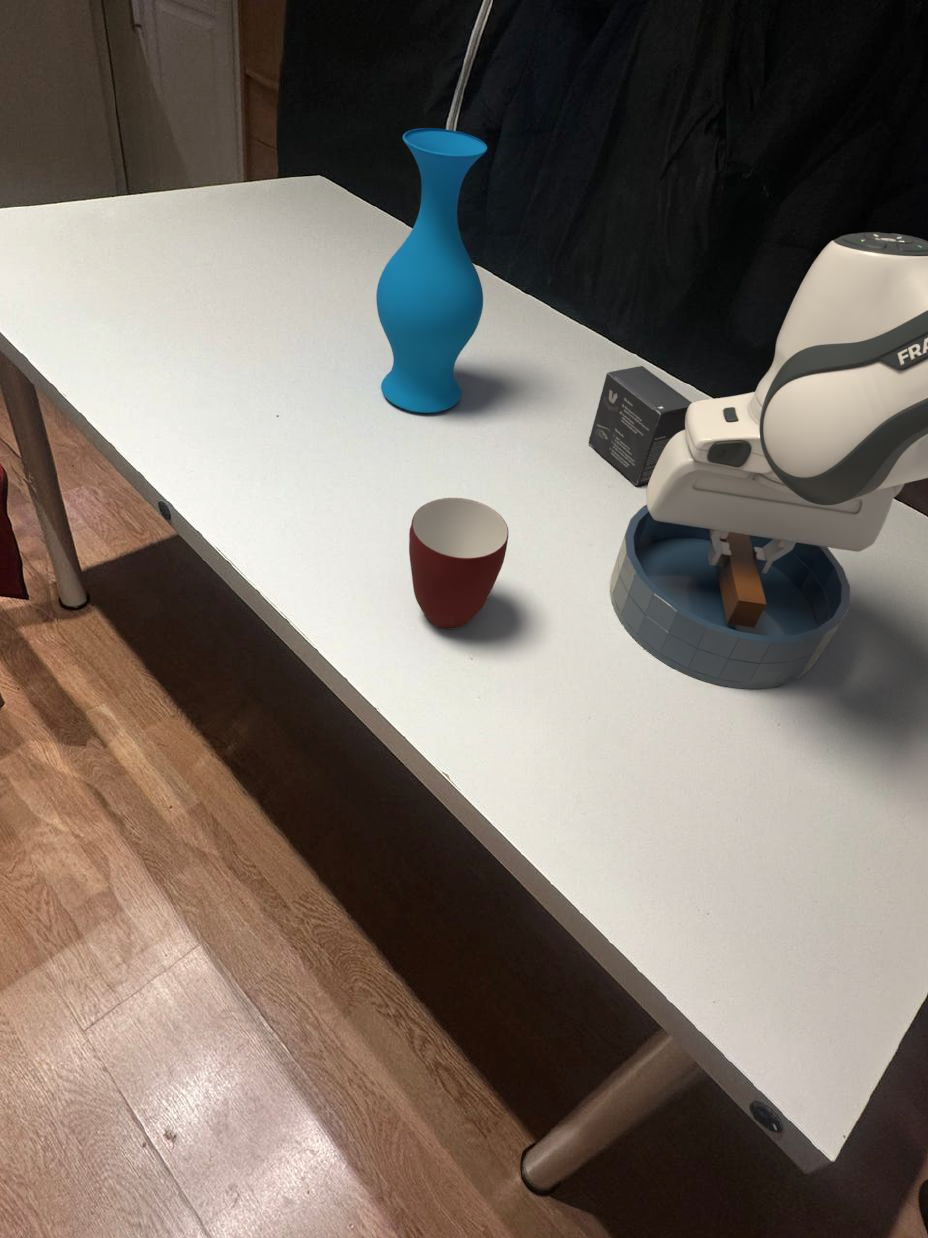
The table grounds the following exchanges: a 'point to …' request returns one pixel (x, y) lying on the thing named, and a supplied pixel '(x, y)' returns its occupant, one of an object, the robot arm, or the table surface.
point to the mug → (455, 558)
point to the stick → (741, 583)
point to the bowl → (694, 612)
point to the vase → (431, 280)
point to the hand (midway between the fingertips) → (735, 565)
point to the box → (636, 421)
